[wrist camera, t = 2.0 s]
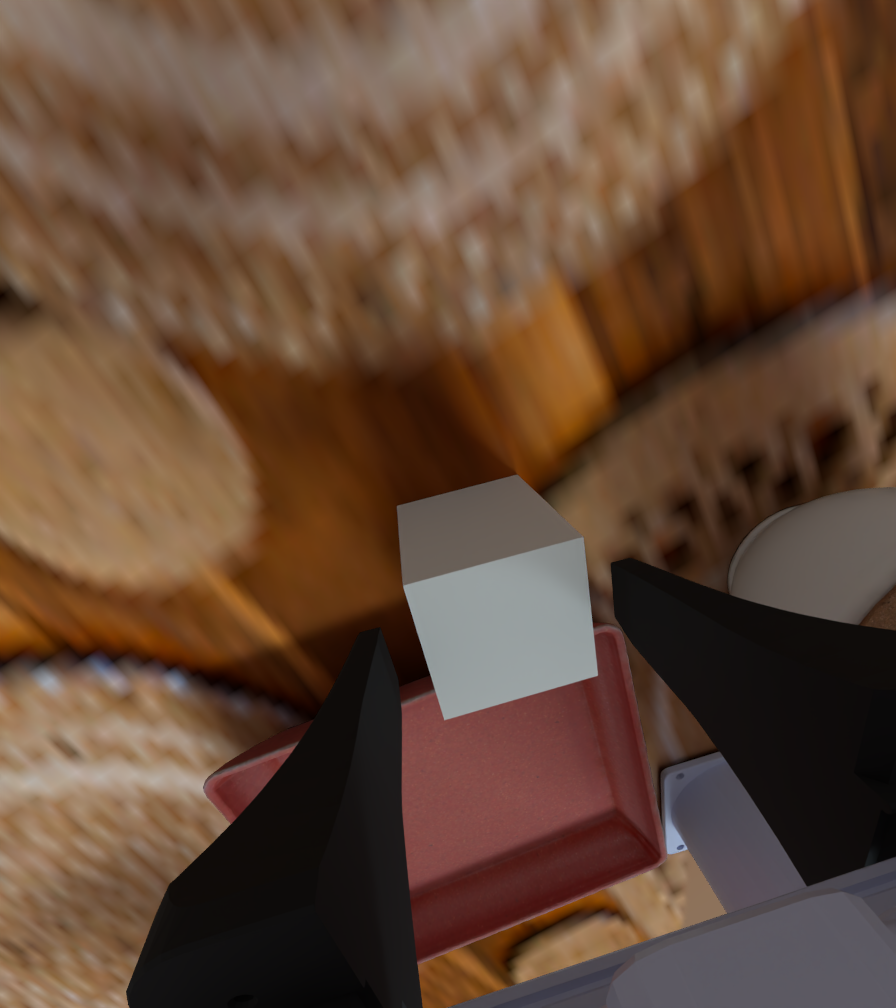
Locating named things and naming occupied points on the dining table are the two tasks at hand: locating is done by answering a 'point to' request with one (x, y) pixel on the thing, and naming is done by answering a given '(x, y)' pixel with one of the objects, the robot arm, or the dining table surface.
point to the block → (496, 594)
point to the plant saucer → (506, 800)
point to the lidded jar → (824, 559)
